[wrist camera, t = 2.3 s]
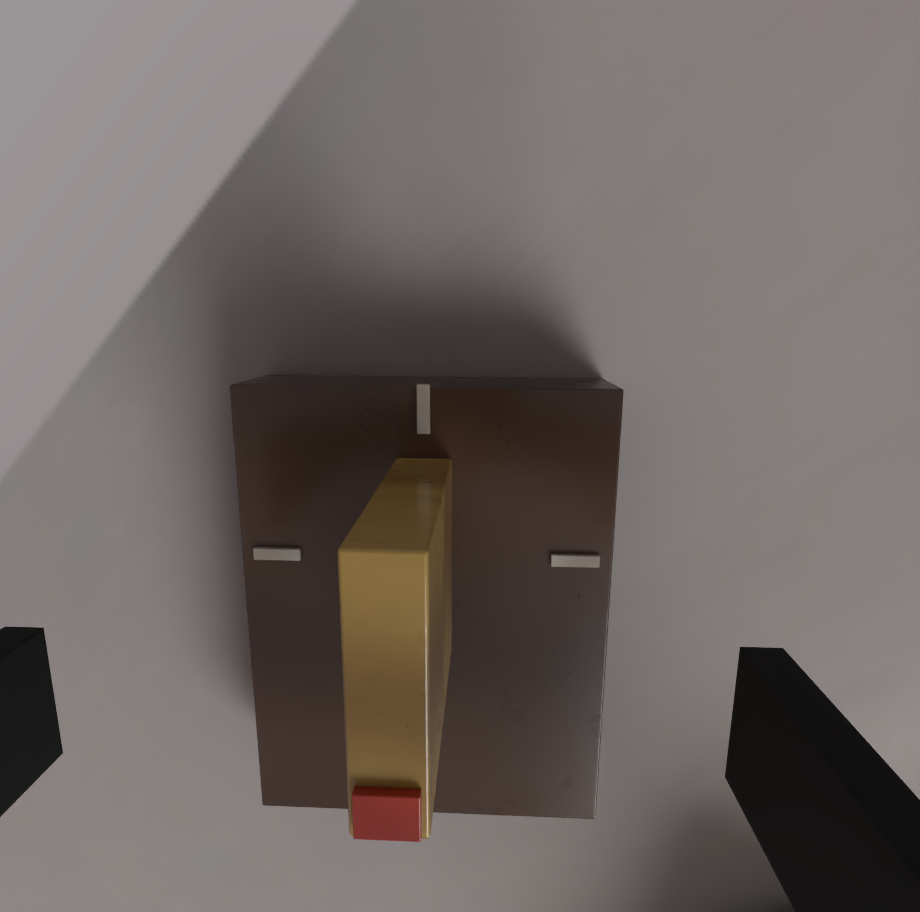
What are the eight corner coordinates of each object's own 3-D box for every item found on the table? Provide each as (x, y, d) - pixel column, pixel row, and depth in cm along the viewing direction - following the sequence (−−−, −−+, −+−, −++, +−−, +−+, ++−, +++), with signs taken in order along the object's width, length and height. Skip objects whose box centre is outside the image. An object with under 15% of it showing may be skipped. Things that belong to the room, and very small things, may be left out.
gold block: (396, 457, 17) (332, 553, 10) (452, 458, 17) (426, 555, 10) (399, 647, 19) (345, 848, 12) (451, 649, 19) (428, 851, 12)
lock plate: (266, 371, 20) (226, 381, 17) (603, 375, 20) (625, 386, 17) (290, 744, 23) (260, 809, 20) (582, 755, 23) (596, 823, 20)
